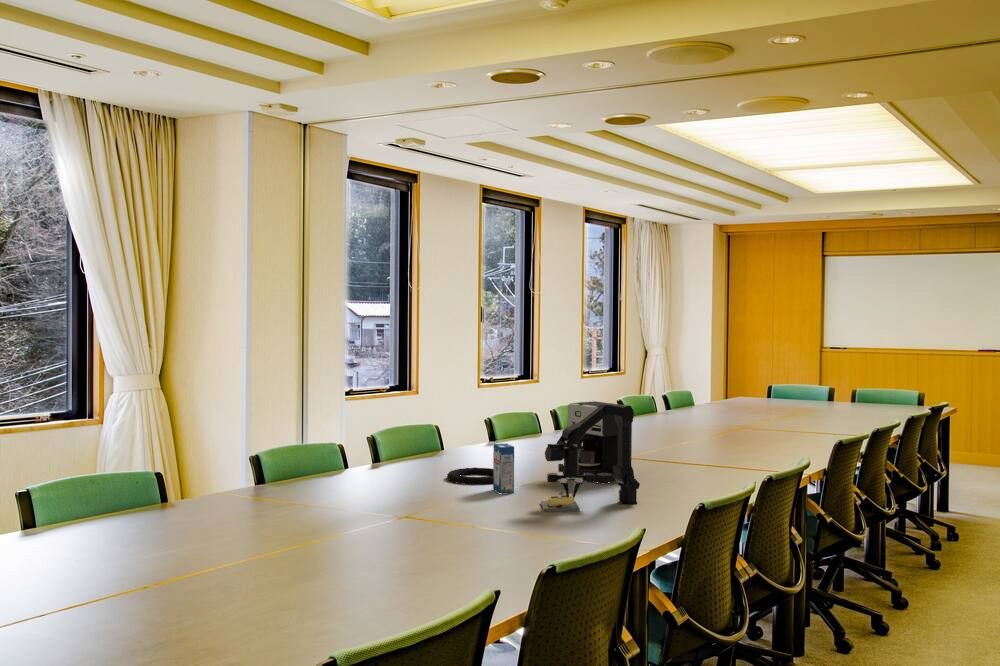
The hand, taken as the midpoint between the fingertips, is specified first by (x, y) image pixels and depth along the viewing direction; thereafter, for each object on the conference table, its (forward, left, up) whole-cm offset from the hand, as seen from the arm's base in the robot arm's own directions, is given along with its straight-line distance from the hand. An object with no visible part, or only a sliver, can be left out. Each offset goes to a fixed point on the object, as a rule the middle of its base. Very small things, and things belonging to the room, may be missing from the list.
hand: (570, 499), depth 341 cm
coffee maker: (-20, -64, -4) cm, 67 cm away
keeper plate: (+4, 0, -3) cm, 5 cm away
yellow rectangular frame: (+4, 0, -1) cm, 4 cm away
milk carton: (+25, -31, -3) cm, 40 cm away
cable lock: (+35, -59, -4) cm, 69 cm away
